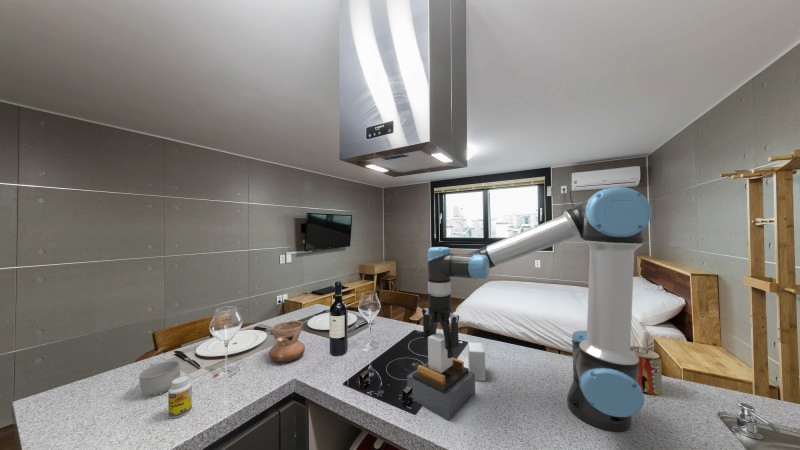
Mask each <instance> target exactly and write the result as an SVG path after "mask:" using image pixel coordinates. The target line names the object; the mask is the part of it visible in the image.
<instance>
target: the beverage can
mask: <svg viewBox="0 0 800 450" xmlns="http://www.w3.org/2000/svg"><path fill="white" fill-rule="evenodd" d="M630 350H631V351H632V352H633V353H634V354H635V355H636V356H637V357H638V360H639V362H638V384H639V385H640V387H641V389H642V391H643V395H647V396H652V397H654V396H655V397H658V396H657V395H659V396H661V395H663V386H662V385H663V378H662V376H663V374H662V355H661V354H660V353H659V352H657V351H655V350H652V349H650V348H647V347H641V346H635V345H630Z"/></svg>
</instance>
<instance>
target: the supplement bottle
mask: <svg viewBox="0 0 800 450" xmlns="http://www.w3.org/2000/svg"><path fill="white" fill-rule="evenodd" d="M192 387H193V384H192V382H190V381H189V376H184V375H183V376H180V377H179V378H176V379H175V380H173V381H172V387H171V388H170V389H169V390H168V391H167V394H168V395H167V397H168V398H167V399H168V401H167V403H168V404H167V406H168V407H167V409H168V410H167V411H168V412H167V413H168V418H170V419H177V417H178V418H180V417H183V416H185V415H187V414H188V413H189V412H191V410H192V407H193V406H192V404H193V403H192V402H193V400H192V399H193V398H192V397H193V395H192V393H193V392H192V391H193V390H192Z"/></svg>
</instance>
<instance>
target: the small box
mask: <svg viewBox="0 0 800 450" xmlns="http://www.w3.org/2000/svg"><path fill="white" fill-rule="evenodd" d="M467 354H468V355H467V357H468V369H469V371H471V372H473V373H475V381H480V382H486V381H487V379H486V378H487V377H486V353H485V348H484V345H483V343H482V342H470V341H469V342H467Z"/></svg>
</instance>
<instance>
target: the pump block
mask: <svg viewBox="0 0 800 450" xmlns="http://www.w3.org/2000/svg"><path fill="white" fill-rule="evenodd" d="M445 347H447V346H446V342H445V337H444V333H443V330H442V331H441V330H439V331H436V333H435V334H433V335H431V336H429V337H428V340H427V355H428V357H427V363H428V368H430V369H432V370H435V371H437V372H439V373H442V372H444V371H445V370H446V368H445ZM453 358H454V356H453V357H452V358H451V366H452V365H453Z"/></svg>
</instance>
